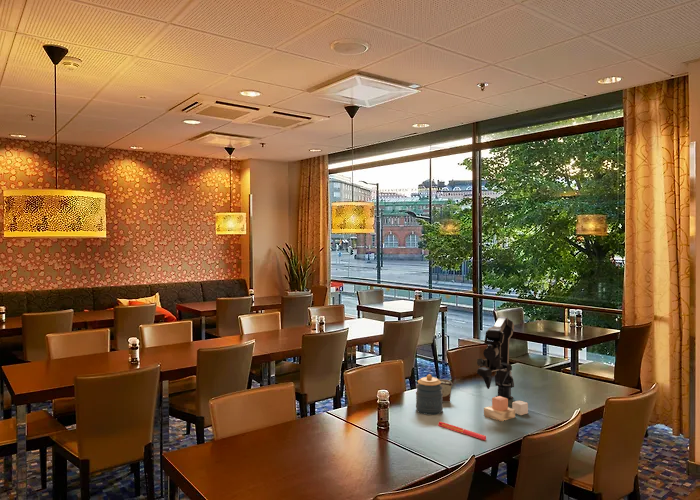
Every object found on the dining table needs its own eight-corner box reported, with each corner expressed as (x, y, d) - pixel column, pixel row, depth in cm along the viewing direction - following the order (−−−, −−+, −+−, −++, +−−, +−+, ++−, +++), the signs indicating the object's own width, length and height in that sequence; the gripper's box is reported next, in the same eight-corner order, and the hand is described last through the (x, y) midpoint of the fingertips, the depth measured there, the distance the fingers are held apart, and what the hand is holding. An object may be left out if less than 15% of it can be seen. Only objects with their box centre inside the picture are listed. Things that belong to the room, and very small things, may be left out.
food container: (451, 398, 272) (451, 379, 271) (452, 401, 266) (452, 382, 265) (427, 397, 273) (427, 378, 273) (428, 401, 267) (428, 381, 267)
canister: (446, 408, 255) (445, 372, 255) (438, 416, 244) (438, 379, 243) (420, 405, 261) (420, 369, 260) (412, 413, 249) (412, 376, 249)
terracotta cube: (499, 406, 247) (499, 395, 247) (507, 409, 243) (507, 398, 243) (492, 408, 244) (492, 397, 244) (500, 411, 240) (500, 400, 240)
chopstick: (442, 426, 234) (436, 425, 231) (443, 421, 235) (437, 420, 232) (488, 441, 217) (482, 441, 214) (489, 436, 217) (483, 435, 214)
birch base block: (497, 412, 251) (497, 403, 251) (515, 418, 242) (515, 409, 242) (483, 416, 245) (483, 407, 245) (501, 422, 237) (501, 413, 237)
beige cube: (519, 410, 252) (519, 400, 252) (527, 413, 248) (527, 403, 247) (512, 412, 249) (512, 402, 249) (520, 415, 245) (520, 404, 245)
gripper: (494, 348, 263) (495, 379, 264) (468, 354, 253) (468, 386, 253) (512, 353, 254) (512, 384, 254) (486, 359, 243) (486, 392, 244)
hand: (494, 386), depth 252 cm, fingers open, 9 cm apart
